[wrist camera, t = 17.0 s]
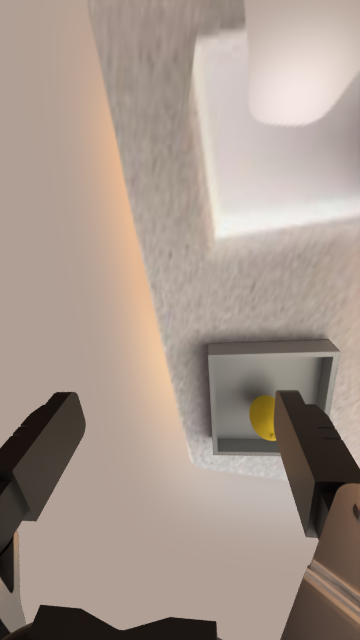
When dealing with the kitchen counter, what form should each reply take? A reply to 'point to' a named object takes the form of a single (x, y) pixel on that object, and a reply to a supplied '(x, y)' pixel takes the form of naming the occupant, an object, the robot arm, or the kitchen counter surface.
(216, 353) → the tray
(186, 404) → the kitchen counter surface
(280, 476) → the kitchen counter surface
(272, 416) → the lemon
